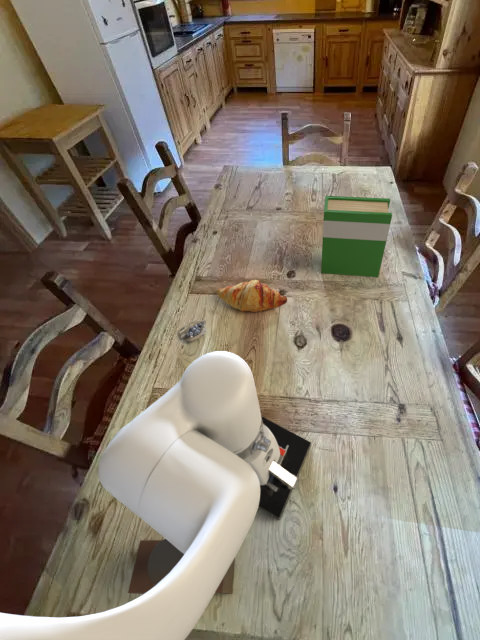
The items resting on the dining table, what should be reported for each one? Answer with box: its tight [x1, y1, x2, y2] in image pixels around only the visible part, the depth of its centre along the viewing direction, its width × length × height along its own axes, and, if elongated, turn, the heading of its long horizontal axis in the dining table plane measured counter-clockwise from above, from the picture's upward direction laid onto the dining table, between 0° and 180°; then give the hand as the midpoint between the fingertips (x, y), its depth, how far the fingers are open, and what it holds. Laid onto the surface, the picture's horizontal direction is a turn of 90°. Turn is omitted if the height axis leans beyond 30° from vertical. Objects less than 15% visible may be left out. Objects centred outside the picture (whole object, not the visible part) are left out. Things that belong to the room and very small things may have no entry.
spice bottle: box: [148, 538, 184, 585], centre depth 49 cm, size 5×5×7 cm
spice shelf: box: [127, 539, 236, 595], centre depth 55 cm, size 6×14×10 cm, turn 90°
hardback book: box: [320, 195, 393, 278], centre depth 100 cm, size 18×7×24 cm, turn 83°
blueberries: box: [178, 319, 207, 344], centre depth 93 cm, size 7×8×2 cm
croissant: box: [216, 279, 288, 313], centre depth 98 cm, size 21×10×8 cm, turn 80°
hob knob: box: [269, 446, 288, 477], centre depth 65 cm, size 4×2×5 cm, turn 153°
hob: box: [258, 415, 312, 521], centre depth 70 cm, size 14×18×3 cm
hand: (247, 468), depth 53 cm, fingers open, 9 cm apart
